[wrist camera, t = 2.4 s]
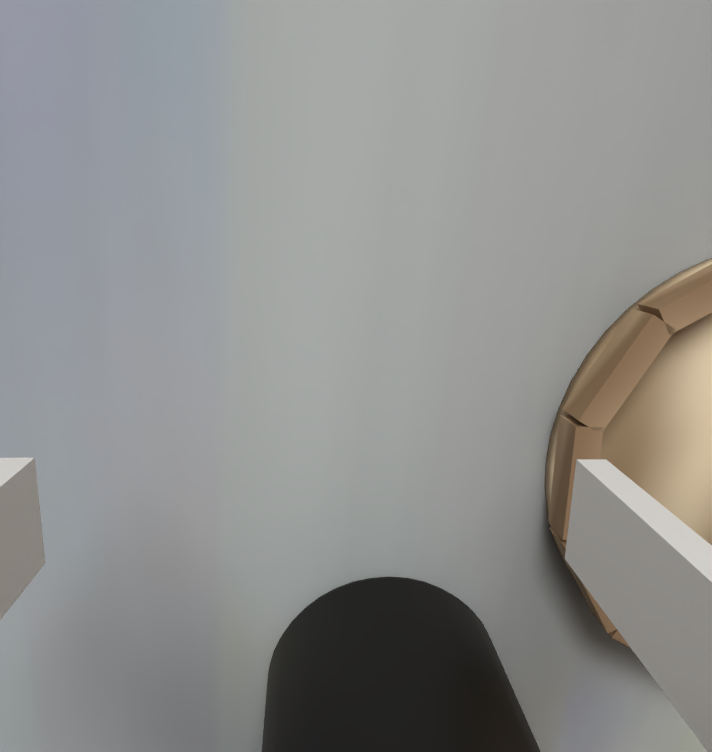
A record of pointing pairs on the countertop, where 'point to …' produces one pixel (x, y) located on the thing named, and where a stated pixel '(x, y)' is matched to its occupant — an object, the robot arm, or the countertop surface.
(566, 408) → the tray
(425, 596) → the mug
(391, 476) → the countertop surface
